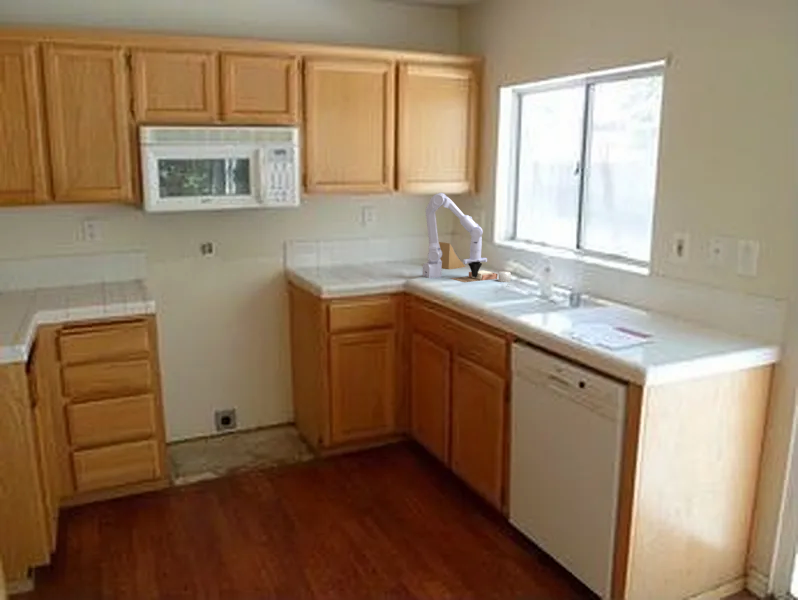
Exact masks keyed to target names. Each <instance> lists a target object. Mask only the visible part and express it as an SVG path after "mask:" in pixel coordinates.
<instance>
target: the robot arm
mask: <svg viewBox="0 0 798 600" xmlns="http://www.w3.org/2000/svg"><path fill="white" fill-rule="evenodd" d="M440 207H443V208H446V209H449V210H450V211H451V212H452V213H453V214H454V215H455V217H457V218H458V219H459V223H460V225H461V226H462V227H463V228H464V229H465V230H466V231H467V232H468V233H469V236H470V244H469V245H470V247H469V258H464V259H463V260H462V262H463V264H464V265H468V267H469V268H470V269H469V270H470V272H472V277H477V274H478V271H480V268H481V267H482V265H483V263H487V262H488V258H487V257H482V247H483V246H482V245H483V241H482V240H483V238H482V236H483V233H484V230H483V228H482V227H481V226H480V225H479V223H477V222H476V221H474V220H473V217H472V216H471V215H470V216H469V215H468V214H464V213H463V211H462V210H461V209H460V208H459V207H458V206H457V205H456V203H455V202H454V201H453V200H452V199H451V198H449V196H447V195H446V193H444V192H438V193H436V194H434V195H433V196H432V197H430V199H429V202H428V204H427V206H426V208H425V216H426V217H425V218H426V226H427V227H426V228H427V237H428V253H427V259H428V260H427V262H425V263H423V265H422V277H423V278H428V279H432V278H433V279H434V278H441V277H442V270H443V268H442V261H441V259H440V258H441V257H442V251H441V249H440V245H439V242H440V241H439V235H438V226H437V216H436V215H437V214H436V212H438V210H439V209H440Z"/></svg>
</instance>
